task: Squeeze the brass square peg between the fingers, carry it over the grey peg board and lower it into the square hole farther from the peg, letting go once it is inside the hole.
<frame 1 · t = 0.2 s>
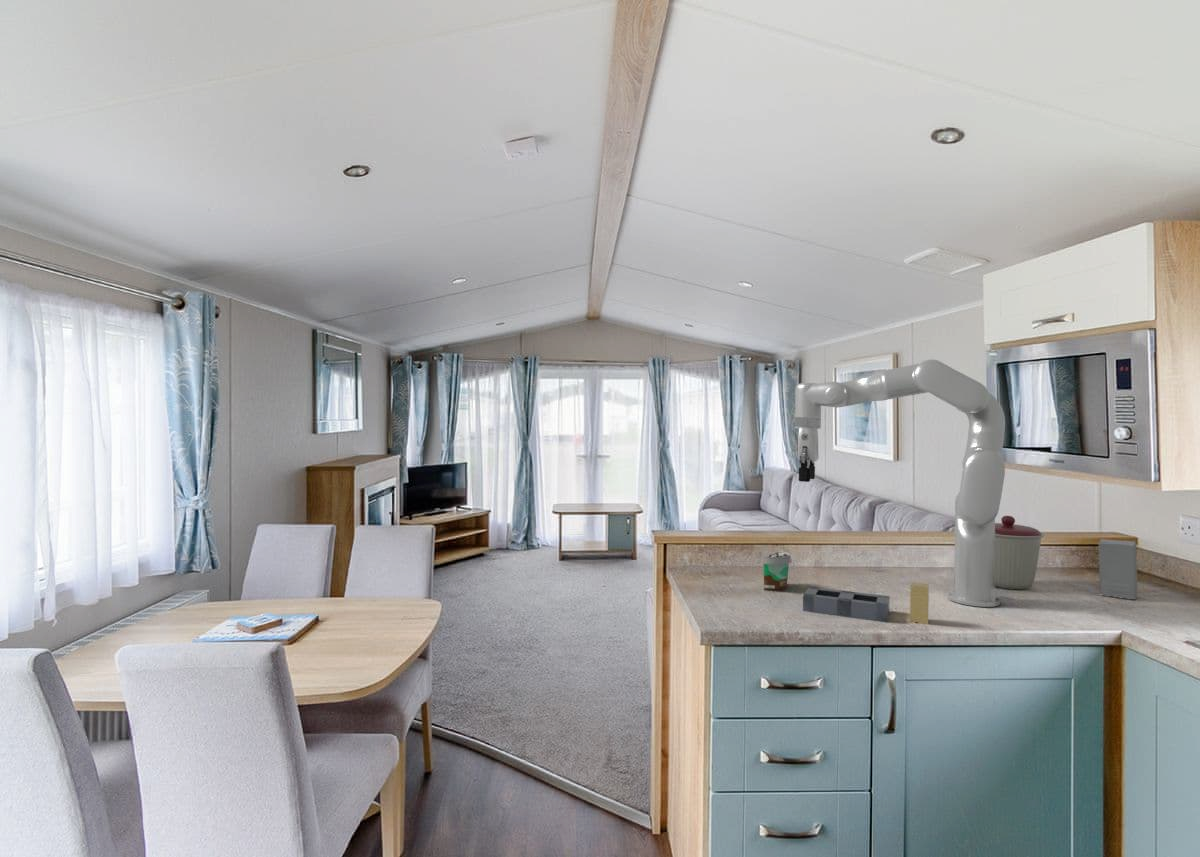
hand: (806, 480, 201), 31 cm above the worktop, fingers open, 9 cm apart
skincare box: (1117, 597, 188), on the worktop
grey peg board: (846, 611, 171), on the worktop
brass peg: (919, 621, 163), on the worktop
canister: (1006, 586, 199), on the worktop
food container: (779, 589, 193), on the worktop
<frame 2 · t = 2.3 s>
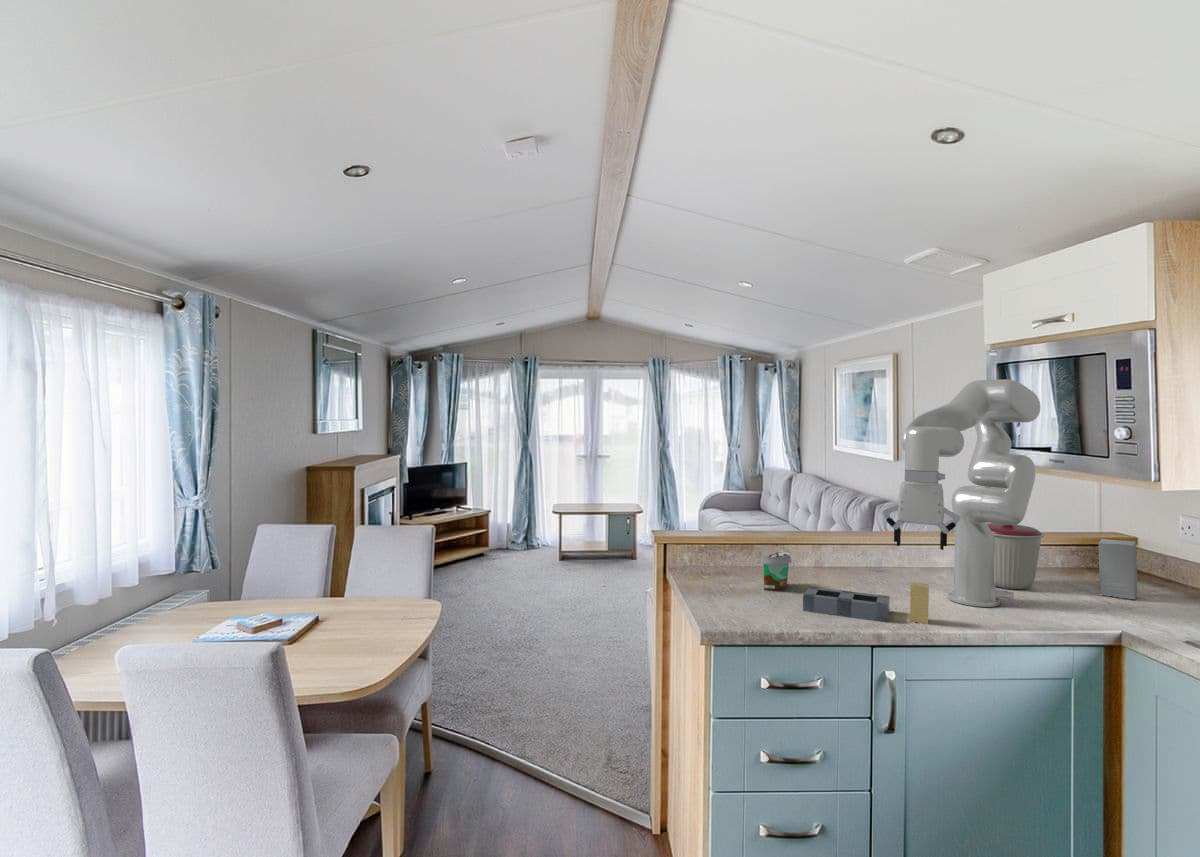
hand: (919, 546, 163), 18 cm above the worktop, fingers open, 9 cm apart
nothing on the worktop moved.
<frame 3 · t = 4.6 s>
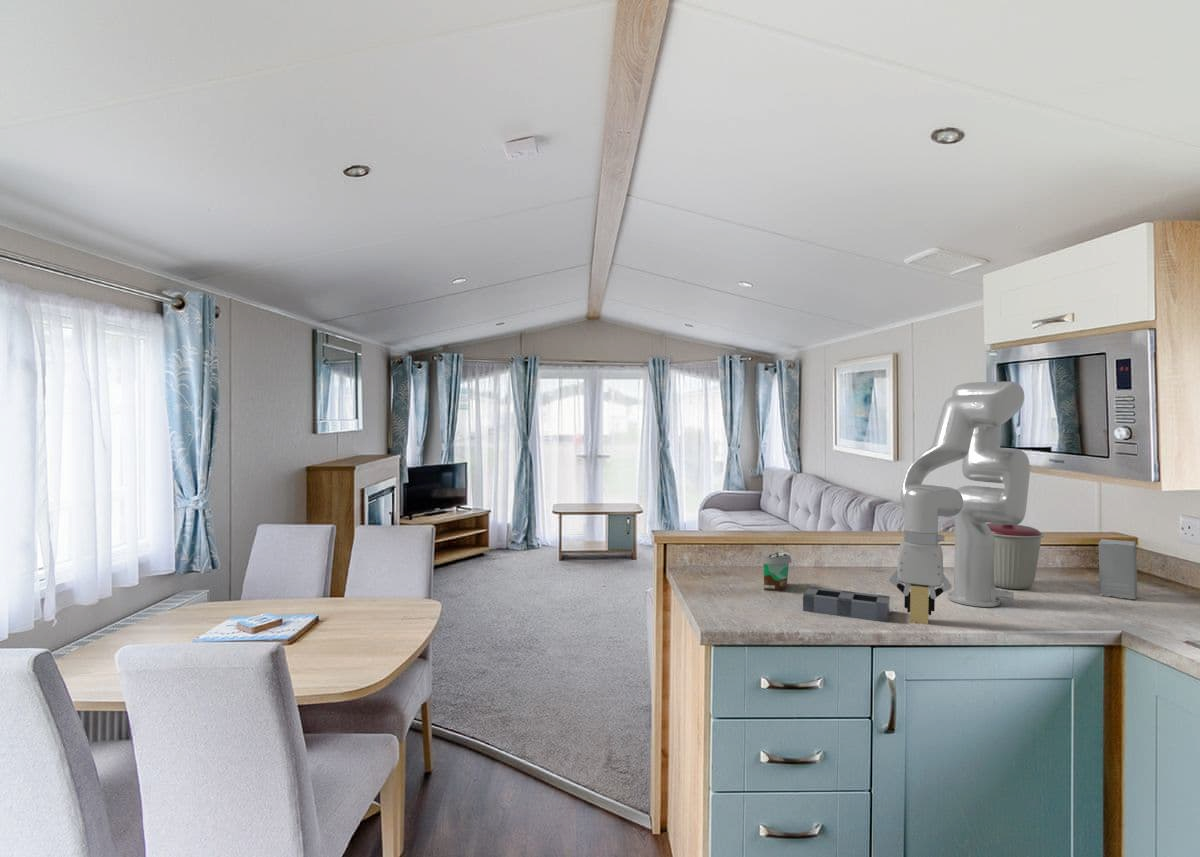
hand: (919, 611, 163), 2 cm above the worktop, fingers closed on brass peg, 4 cm apart
brass peg: (919, 621, 163), on the worktop, touching gripper
everything else where it was.
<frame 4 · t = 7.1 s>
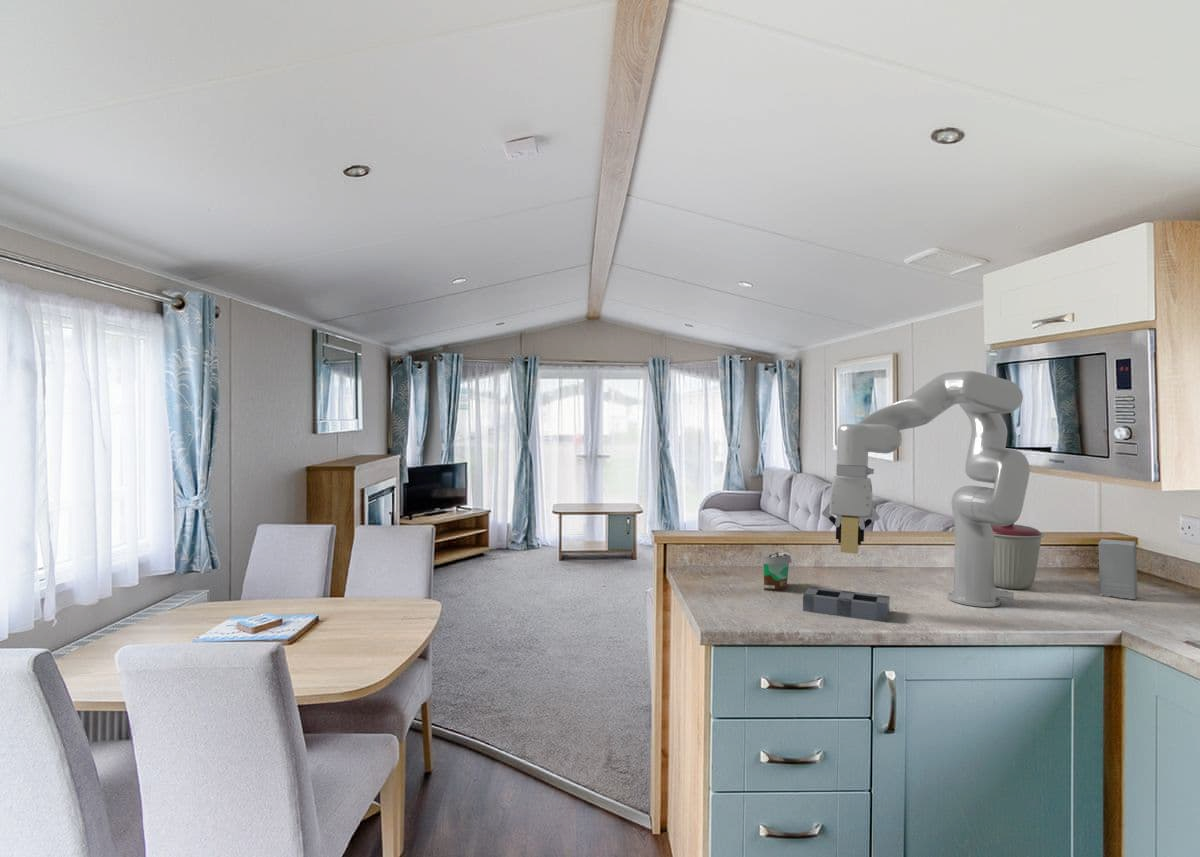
hand: (849, 542, 170), 18 cm above the worktop, fingers closed on brass peg, 4 cm apart
brass peg: (849, 551, 170), point 16 cm above the worktop, touching gripper
everything else where it was.
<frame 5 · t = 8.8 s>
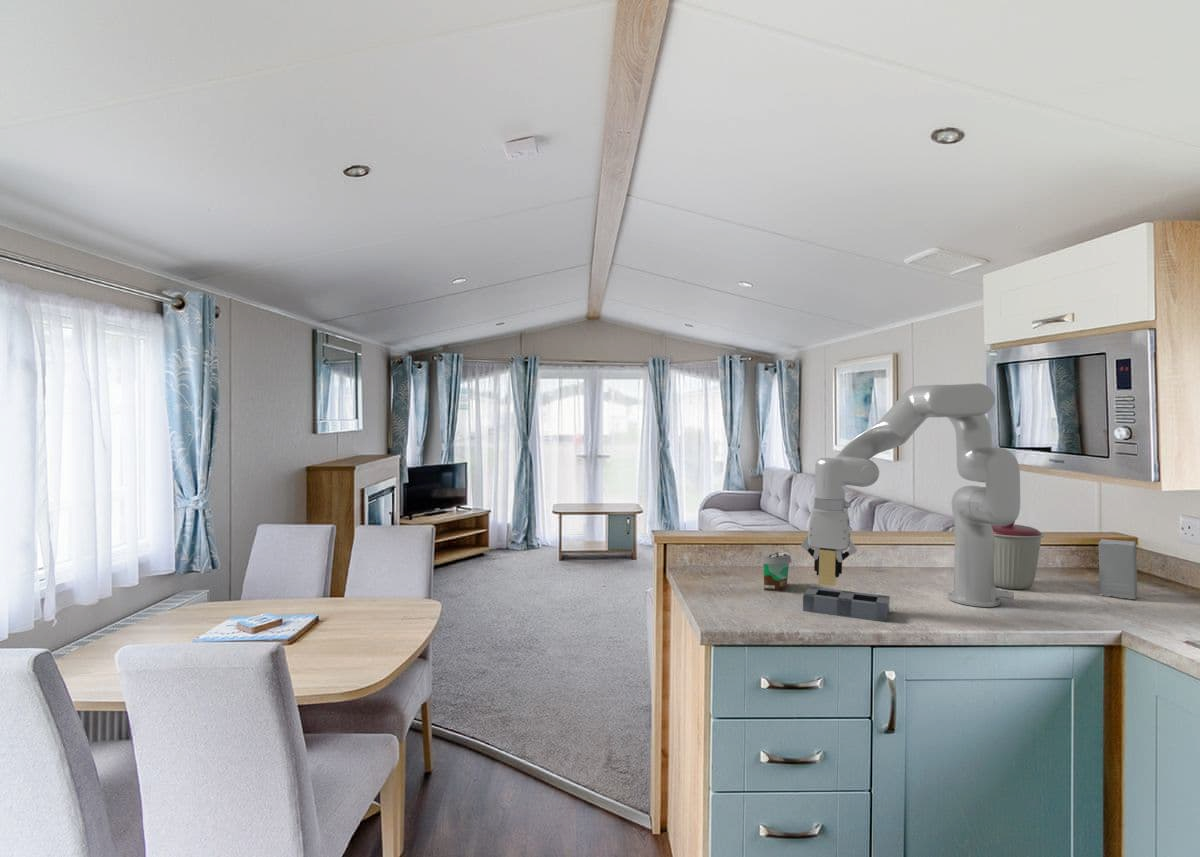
hand: (827, 574, 173), 9 cm above the worktop, fingers closed on brass peg, 4 cm apart
brass peg: (827, 583, 173), point 7 cm above the worktop, touching gripper
everything else where it was.
when the fingers open (5 cm above the worktop, at t = 9.9 s): brass peg drops 2 cm, resting in grey peg board.
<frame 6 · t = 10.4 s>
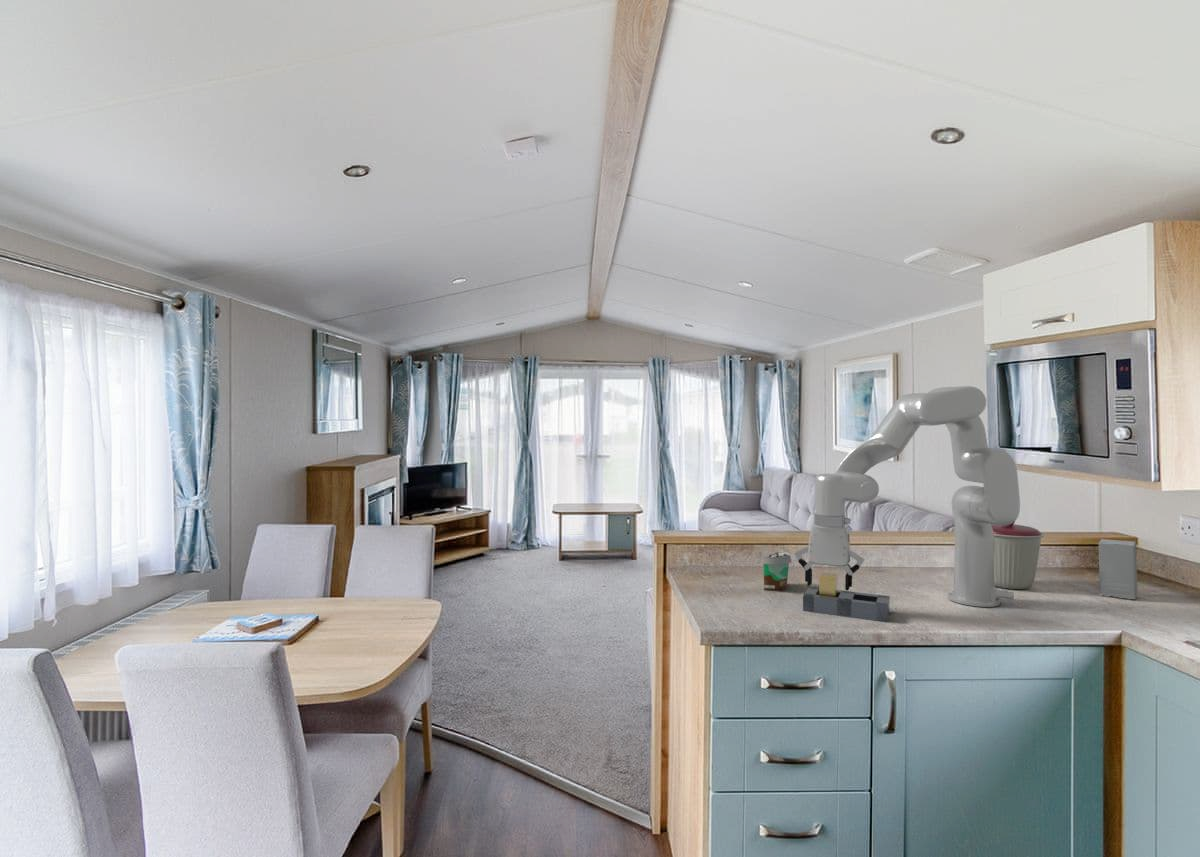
hand: (828, 586, 173), 6 cm above the worktop, fingers open, 9 cm apart
brass peg: (828, 608, 173), resting in grey peg board
everything else where it was.
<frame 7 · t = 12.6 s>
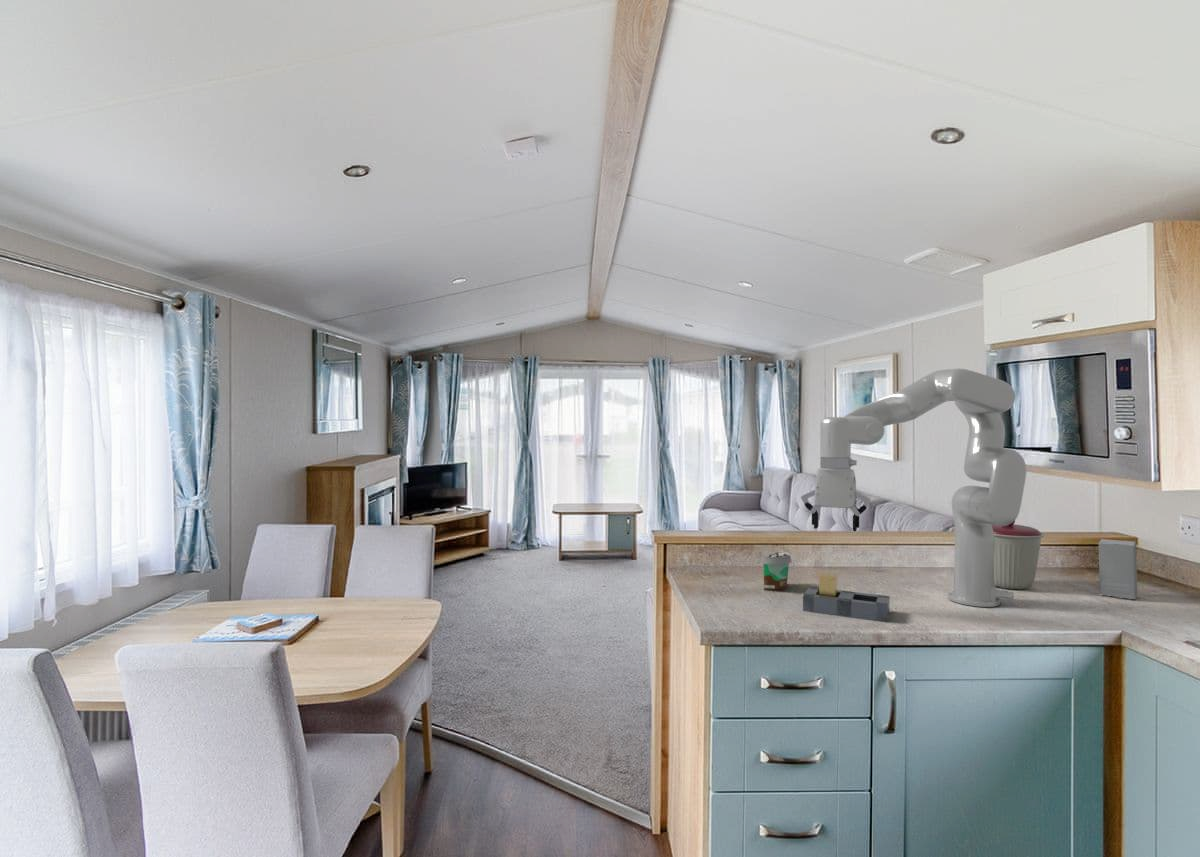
hand: (835, 529, 174), 21 cm above the worktop, fingers open, 9 cm apart
nothing on the worktop moved.
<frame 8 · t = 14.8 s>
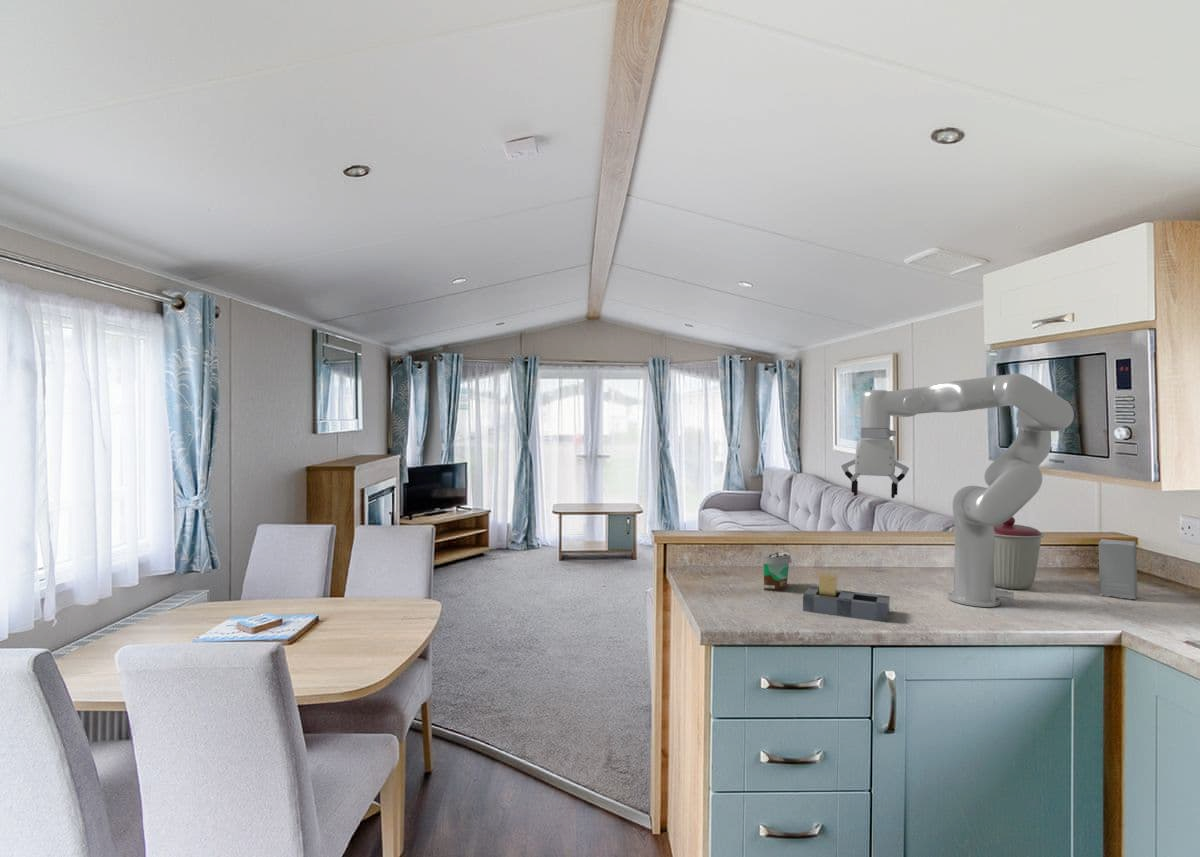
hand: (874, 496, 183), 28 cm above the worktop, fingers open, 9 cm apart
nothing on the worktop moved.
at the end: brass peg 0.0 cm from the target spot on the grey peg board, point 0.0 cm above the grey peg board's base; brass peg tilted 0°; the gripper is holding nothing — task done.
